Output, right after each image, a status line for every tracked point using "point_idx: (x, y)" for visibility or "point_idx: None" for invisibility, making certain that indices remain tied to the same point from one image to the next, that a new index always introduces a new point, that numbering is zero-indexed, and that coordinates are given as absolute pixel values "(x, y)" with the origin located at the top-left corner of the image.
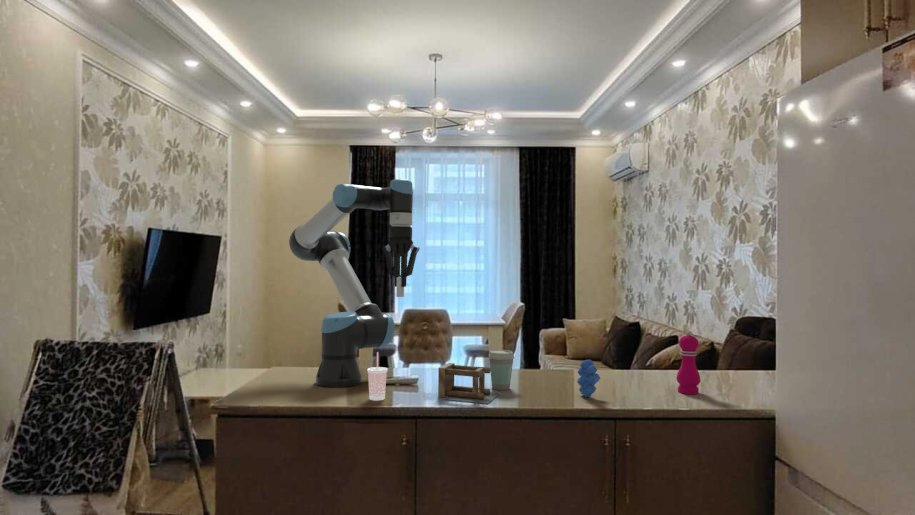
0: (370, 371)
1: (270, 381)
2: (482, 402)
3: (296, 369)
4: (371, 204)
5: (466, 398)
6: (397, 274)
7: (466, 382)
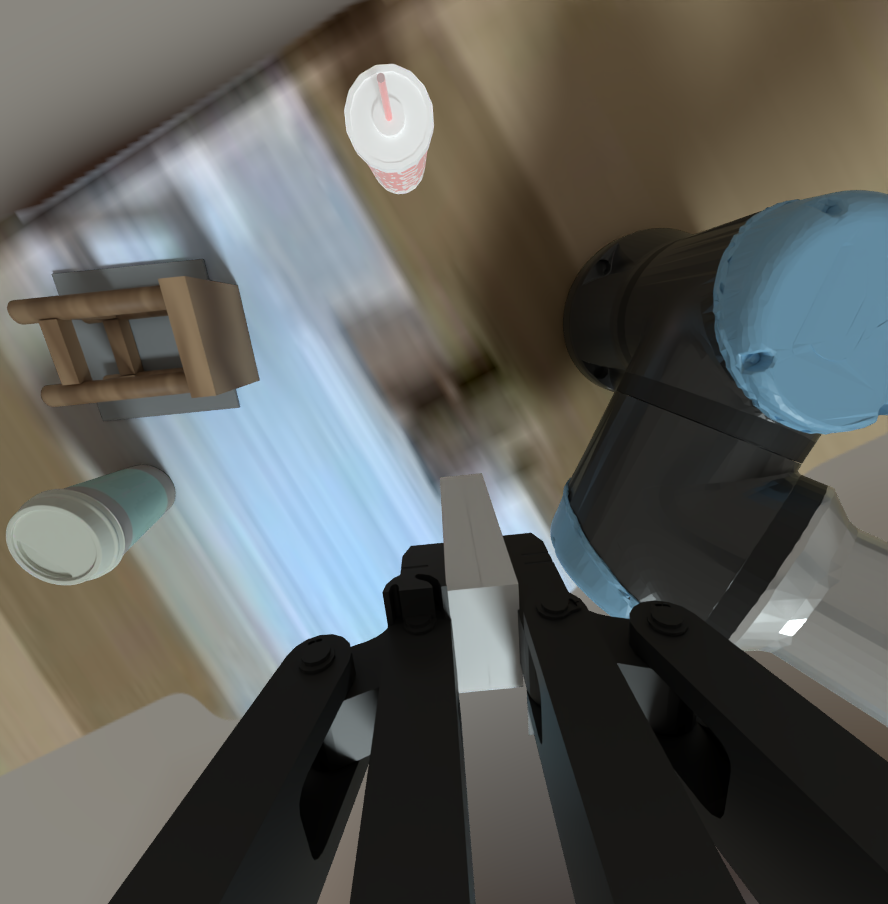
0: (395, 67)
1: None
2: (71, 274)
3: (872, 427)
4: None
5: None
6: (526, 637)
7: (277, 510)
